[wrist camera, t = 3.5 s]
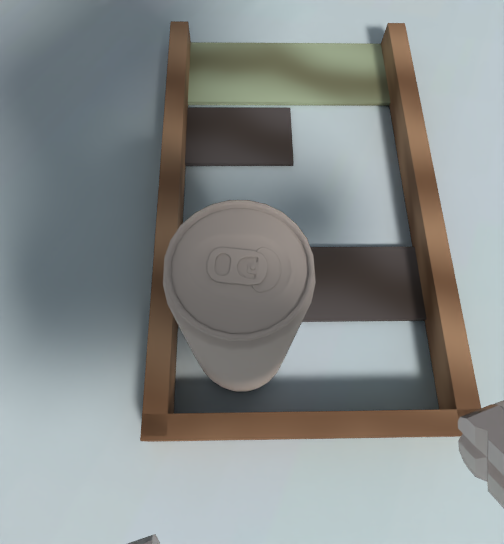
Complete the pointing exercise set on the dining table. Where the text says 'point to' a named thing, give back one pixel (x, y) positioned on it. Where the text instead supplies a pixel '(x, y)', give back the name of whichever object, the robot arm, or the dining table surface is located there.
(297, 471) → the dining table surface
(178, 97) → the box
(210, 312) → the beverage can
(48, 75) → the dining table surface
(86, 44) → the dining table surface
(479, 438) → the robot arm
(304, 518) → the dining table surface
